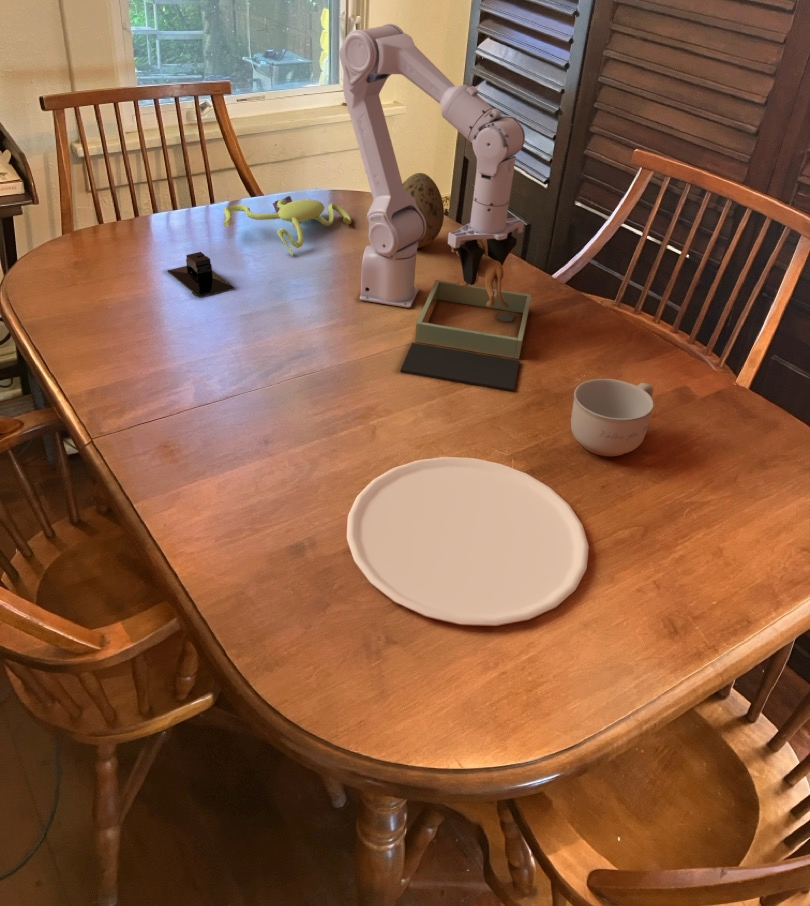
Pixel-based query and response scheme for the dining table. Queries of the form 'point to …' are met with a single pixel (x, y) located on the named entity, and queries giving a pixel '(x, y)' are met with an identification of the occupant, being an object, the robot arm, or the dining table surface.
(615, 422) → the teacup
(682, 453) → the dining table surface
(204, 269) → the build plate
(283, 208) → the figurine
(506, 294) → the green square tray
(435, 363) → the mat
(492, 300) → the lion figurine
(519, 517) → the plate
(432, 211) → the decorative egg
